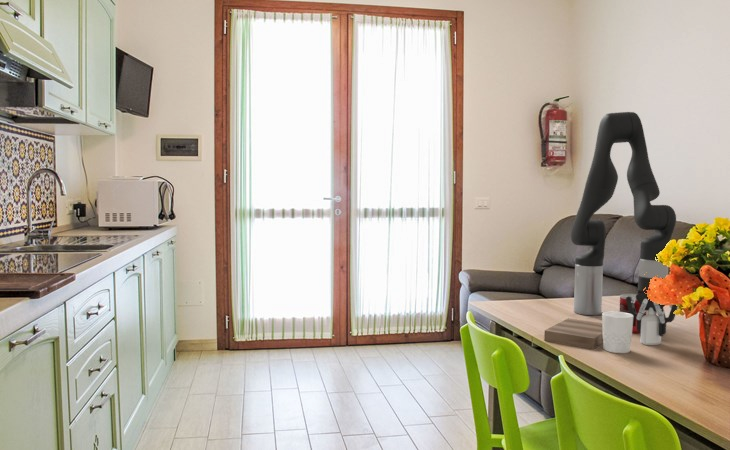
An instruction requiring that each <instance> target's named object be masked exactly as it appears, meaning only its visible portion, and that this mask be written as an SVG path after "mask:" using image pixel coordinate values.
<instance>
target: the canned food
mask: <svg viewBox="0 0 730 450" xmlns="http://www.w3.org/2000/svg"><path fill="white" fill-rule="evenodd" d="M636 295H637V293H621V294H620V297H619V312H625V313H629V310H628V305H627V301H626V297H628V296H636ZM634 306H635V310H636V313H639V310H640V307H641V305H640V303H639V302H638V300H637V299H636V300H635V303H634ZM645 315H647V310H646V312H645V314H644V316H645ZM632 334H640V333H639V331H637V319H636V318H634V317H633V328H632Z"/></svg>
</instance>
